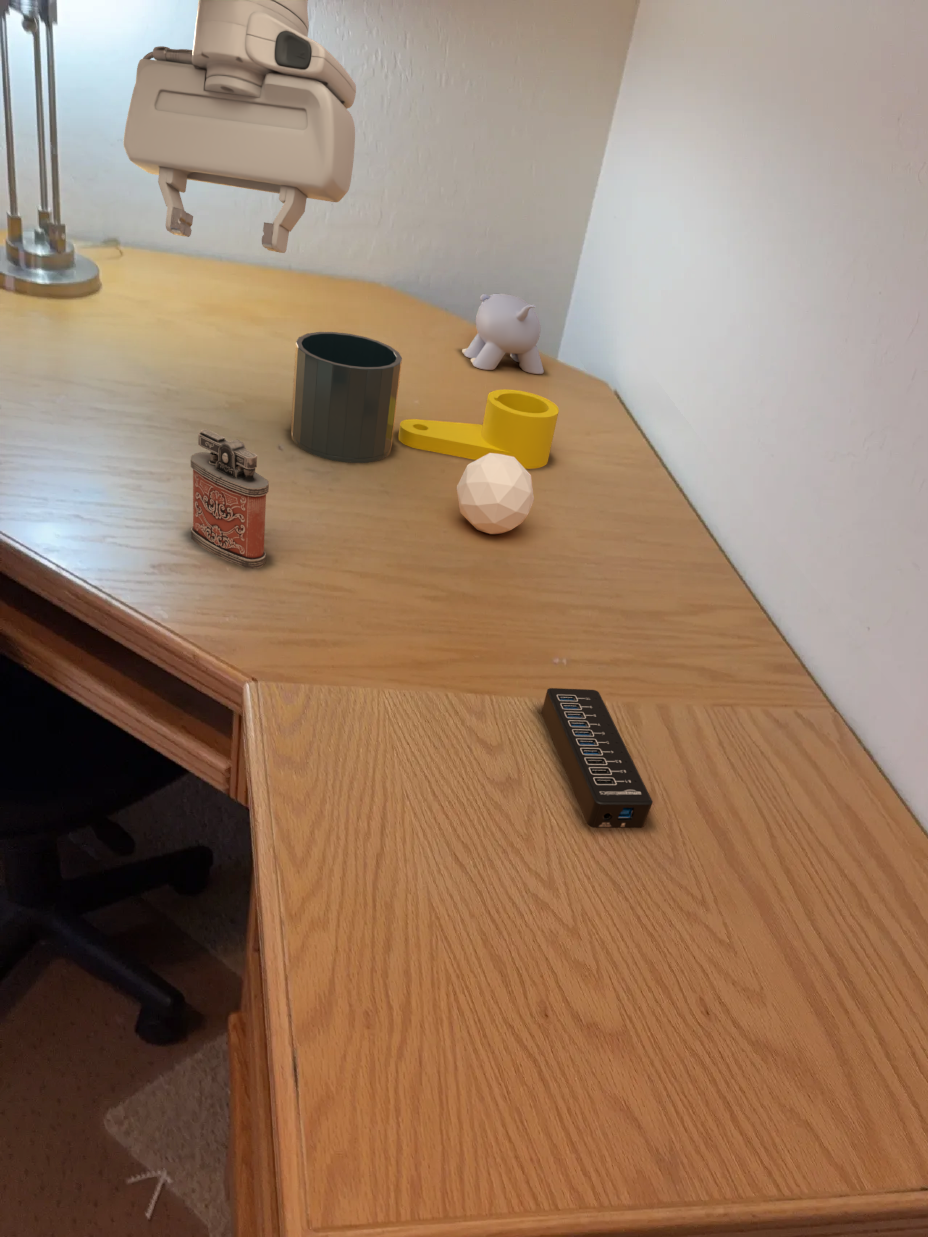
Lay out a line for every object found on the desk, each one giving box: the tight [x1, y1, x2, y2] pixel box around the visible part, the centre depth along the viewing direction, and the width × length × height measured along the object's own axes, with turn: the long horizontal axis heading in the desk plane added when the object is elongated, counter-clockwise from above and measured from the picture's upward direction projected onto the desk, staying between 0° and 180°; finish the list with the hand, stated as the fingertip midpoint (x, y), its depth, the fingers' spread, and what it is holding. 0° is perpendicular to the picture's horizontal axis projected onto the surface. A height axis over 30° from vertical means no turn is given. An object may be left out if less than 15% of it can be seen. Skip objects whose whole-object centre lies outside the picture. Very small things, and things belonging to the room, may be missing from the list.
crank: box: [397, 388, 560, 470], centre depth 123 cm, size 18×8×6 cm, turn 97°
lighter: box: [190, 429, 270, 569], centre depth 93 cm, size 8×3×10 cm, turn 56°
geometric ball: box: [455, 453, 535, 535], centre depth 107 cm, size 8×8×8 cm
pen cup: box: [290, 331, 403, 464], centre depth 116 cm, size 11×11×10 cm
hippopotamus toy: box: [461, 293, 545, 375], centre depth 149 cm, size 11×15×10 cm
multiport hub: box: [540, 687, 653, 829], centre depth 80 cm, size 4×14×2 cm, turn 12°
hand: (225, 241), depth 91 cm, fingers open, 8 cm apart
